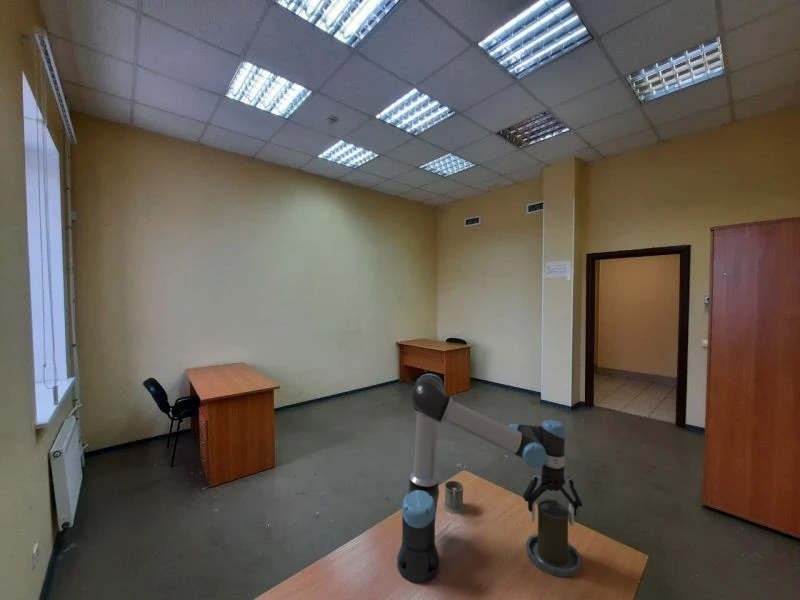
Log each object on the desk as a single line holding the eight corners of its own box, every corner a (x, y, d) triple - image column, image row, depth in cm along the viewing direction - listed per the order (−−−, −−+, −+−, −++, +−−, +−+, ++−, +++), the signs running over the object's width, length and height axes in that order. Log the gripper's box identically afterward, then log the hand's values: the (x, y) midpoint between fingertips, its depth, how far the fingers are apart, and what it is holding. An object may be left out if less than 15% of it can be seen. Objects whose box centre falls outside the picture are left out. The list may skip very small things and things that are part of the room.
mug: (443, 499, 156) (443, 474, 156) (464, 501, 155) (464, 476, 155) (442, 519, 142) (443, 491, 142) (466, 521, 141) (466, 493, 141)
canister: (572, 569, 115) (572, 512, 115) (540, 564, 117) (540, 508, 117) (563, 546, 126) (563, 494, 126) (534, 542, 128) (534, 491, 128)
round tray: (534, 574, 114) (534, 568, 114) (521, 537, 132) (521, 532, 132) (589, 579, 112) (589, 573, 112) (568, 541, 129) (568, 536, 129)
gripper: (520, 466, 119) (519, 524, 119) (593, 472, 116) (592, 532, 116) (515, 456, 127) (514, 511, 127) (584, 462, 124) (582, 518, 124)
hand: (551, 521), depth 122 cm, fingers open, 13 cm apart
